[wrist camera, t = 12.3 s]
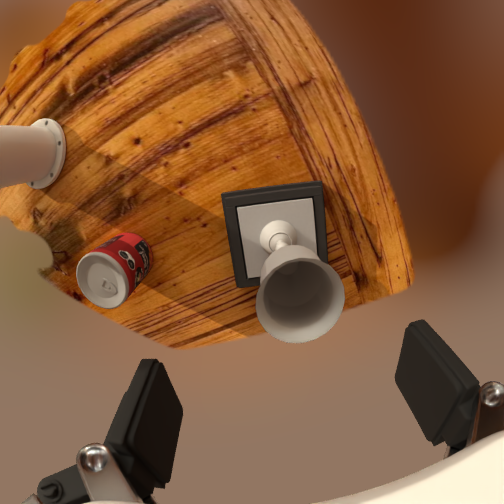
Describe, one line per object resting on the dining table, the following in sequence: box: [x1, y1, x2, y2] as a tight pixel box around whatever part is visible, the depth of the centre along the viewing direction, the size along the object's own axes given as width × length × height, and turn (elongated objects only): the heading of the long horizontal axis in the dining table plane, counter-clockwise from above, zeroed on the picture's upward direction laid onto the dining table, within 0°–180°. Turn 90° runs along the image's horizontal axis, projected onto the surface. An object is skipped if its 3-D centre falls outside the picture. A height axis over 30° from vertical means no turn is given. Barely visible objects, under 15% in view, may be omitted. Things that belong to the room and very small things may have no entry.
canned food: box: [76, 233, 153, 309], centre depth 36 cm, size 8×8×11 cm
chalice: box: [255, 220, 345, 343], centre depth 29 cm, size 7×7×18 cm
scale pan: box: [237, 197, 317, 278], centre depth 38 cm, size 10×10×2 cm
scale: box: [221, 181, 328, 288], centre depth 39 cm, size 14×14×3 cm
